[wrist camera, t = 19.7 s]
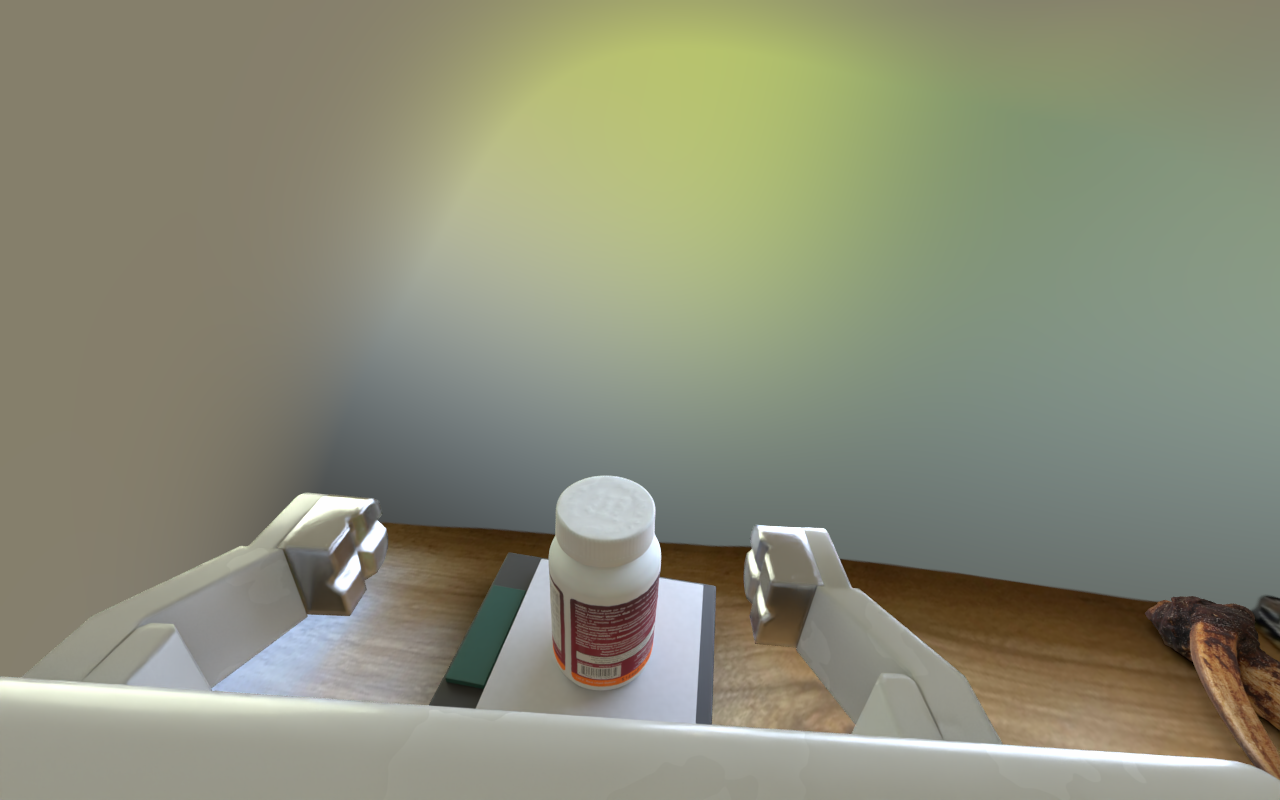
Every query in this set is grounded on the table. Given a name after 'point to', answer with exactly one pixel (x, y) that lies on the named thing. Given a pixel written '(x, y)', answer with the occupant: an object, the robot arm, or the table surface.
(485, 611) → the scale
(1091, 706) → the table surface
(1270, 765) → the lashed bone hook
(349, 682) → the table surface
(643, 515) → the pill bottle
